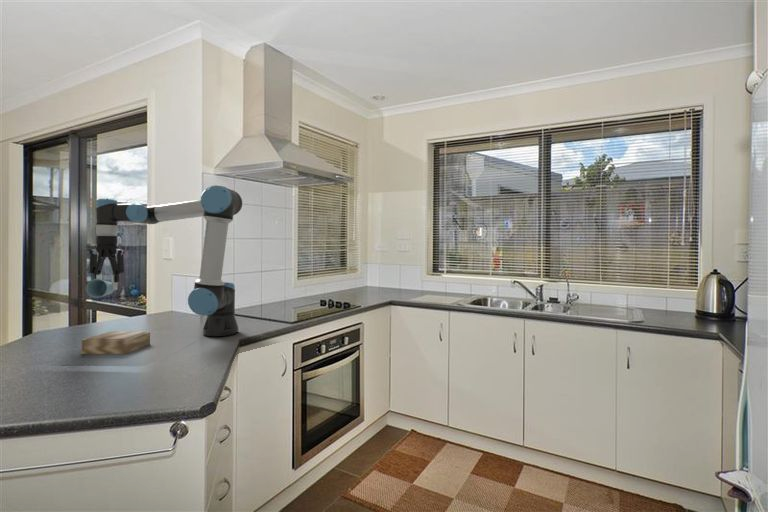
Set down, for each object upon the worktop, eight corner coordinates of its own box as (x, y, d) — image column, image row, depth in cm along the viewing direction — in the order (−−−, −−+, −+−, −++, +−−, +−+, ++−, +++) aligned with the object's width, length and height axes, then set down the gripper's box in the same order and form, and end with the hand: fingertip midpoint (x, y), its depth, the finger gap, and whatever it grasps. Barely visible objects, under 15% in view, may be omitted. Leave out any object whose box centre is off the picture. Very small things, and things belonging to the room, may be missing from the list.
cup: (119, 294, 180) (109, 294, 170) (100, 299, 178) (88, 300, 168) (114, 277, 180) (104, 276, 170) (95, 282, 178) (83, 282, 168)
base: (150, 344, 169) (150, 331, 169) (125, 354, 153) (125, 339, 153) (110, 343, 169) (110, 330, 169) (81, 353, 153) (81, 339, 153)
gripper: (134, 235, 182) (134, 289, 182) (90, 235, 182) (91, 289, 182) (123, 235, 175) (123, 291, 175) (78, 234, 174) (78, 290, 175)
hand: (106, 289), depth 179 cm, fingers closed on cup, 6 cm apart
